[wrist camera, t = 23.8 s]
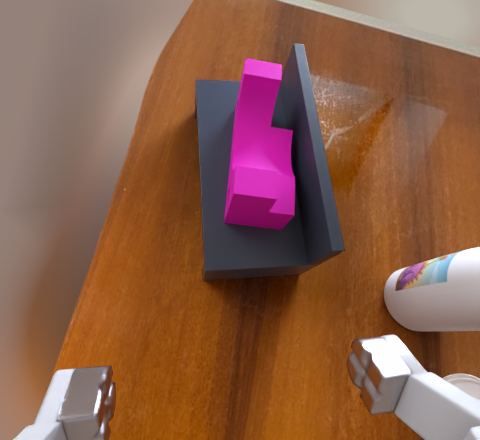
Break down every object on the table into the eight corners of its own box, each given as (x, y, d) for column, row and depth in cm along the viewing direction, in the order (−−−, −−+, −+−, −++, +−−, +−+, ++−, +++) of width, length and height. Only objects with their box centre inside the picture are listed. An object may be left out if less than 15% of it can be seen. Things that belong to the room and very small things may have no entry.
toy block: (281, 229, 34) (305, 203, 27) (224, 222, 33) (233, 193, 26) (284, 116, 39) (305, 69, 32) (235, 108, 38) (245, 58, 31)
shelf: (202, 280, 37) (208, 257, 26) (194, 110, 45) (196, 36, 33) (300, 274, 39) (345, 250, 28) (276, 113, 47) (303, 44, 35)
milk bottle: (446, 326, 39) (676, 319, 21) (392, 336, 38) (587, 339, 19) (425, 265, 42) (615, 211, 23) (373, 273, 40) (531, 221, 22)
